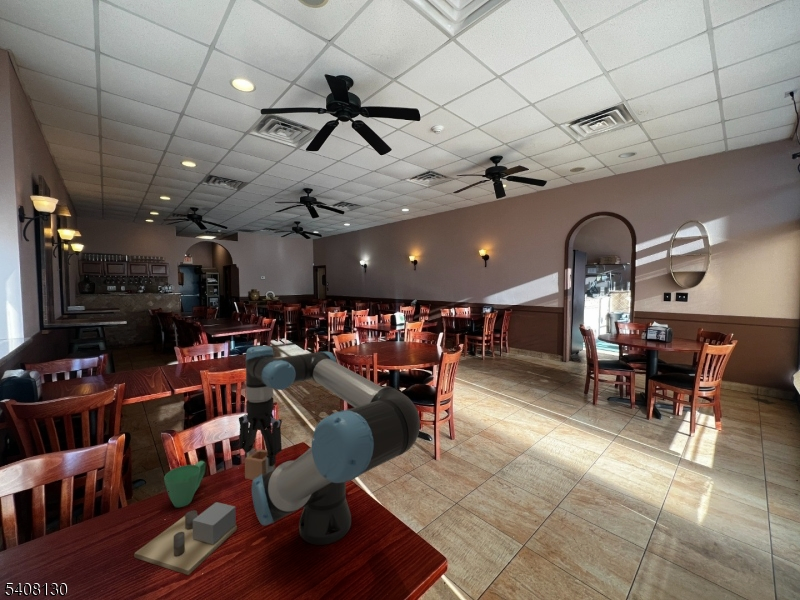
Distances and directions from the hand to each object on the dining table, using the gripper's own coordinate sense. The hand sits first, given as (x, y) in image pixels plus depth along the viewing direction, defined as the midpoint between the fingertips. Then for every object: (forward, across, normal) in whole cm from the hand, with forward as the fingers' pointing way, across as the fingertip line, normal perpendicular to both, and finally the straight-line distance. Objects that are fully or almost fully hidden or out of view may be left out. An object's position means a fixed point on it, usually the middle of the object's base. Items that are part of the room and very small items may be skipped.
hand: (260, 473), depth 100 cm
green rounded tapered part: (+15, +30, -2) cm, 34 cm away
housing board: (+15, +13, +13) cm, 24 cm away
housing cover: (+13, +8, +9) cm, 18 cm away
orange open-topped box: (0, 0, 0) cm, 0 cm away
